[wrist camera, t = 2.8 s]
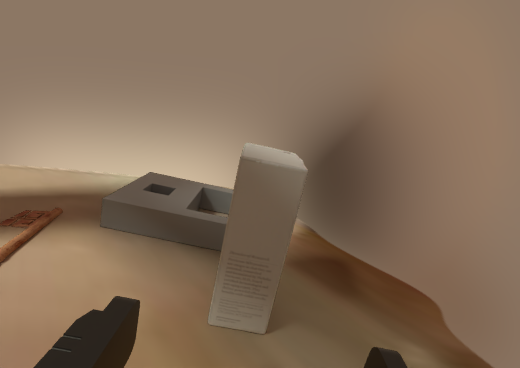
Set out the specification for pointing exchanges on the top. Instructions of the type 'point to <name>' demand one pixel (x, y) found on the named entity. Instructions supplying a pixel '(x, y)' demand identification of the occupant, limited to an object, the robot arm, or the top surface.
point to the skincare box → (256, 237)
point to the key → (31, 229)
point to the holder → (169, 210)
